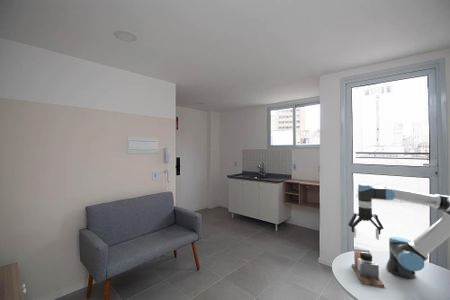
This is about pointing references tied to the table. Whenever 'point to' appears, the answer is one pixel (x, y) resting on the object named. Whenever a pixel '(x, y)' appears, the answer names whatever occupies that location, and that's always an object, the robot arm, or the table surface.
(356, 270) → the shelf
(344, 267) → the table surface
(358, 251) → the books
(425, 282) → the table surface
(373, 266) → the bookend
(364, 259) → the container
